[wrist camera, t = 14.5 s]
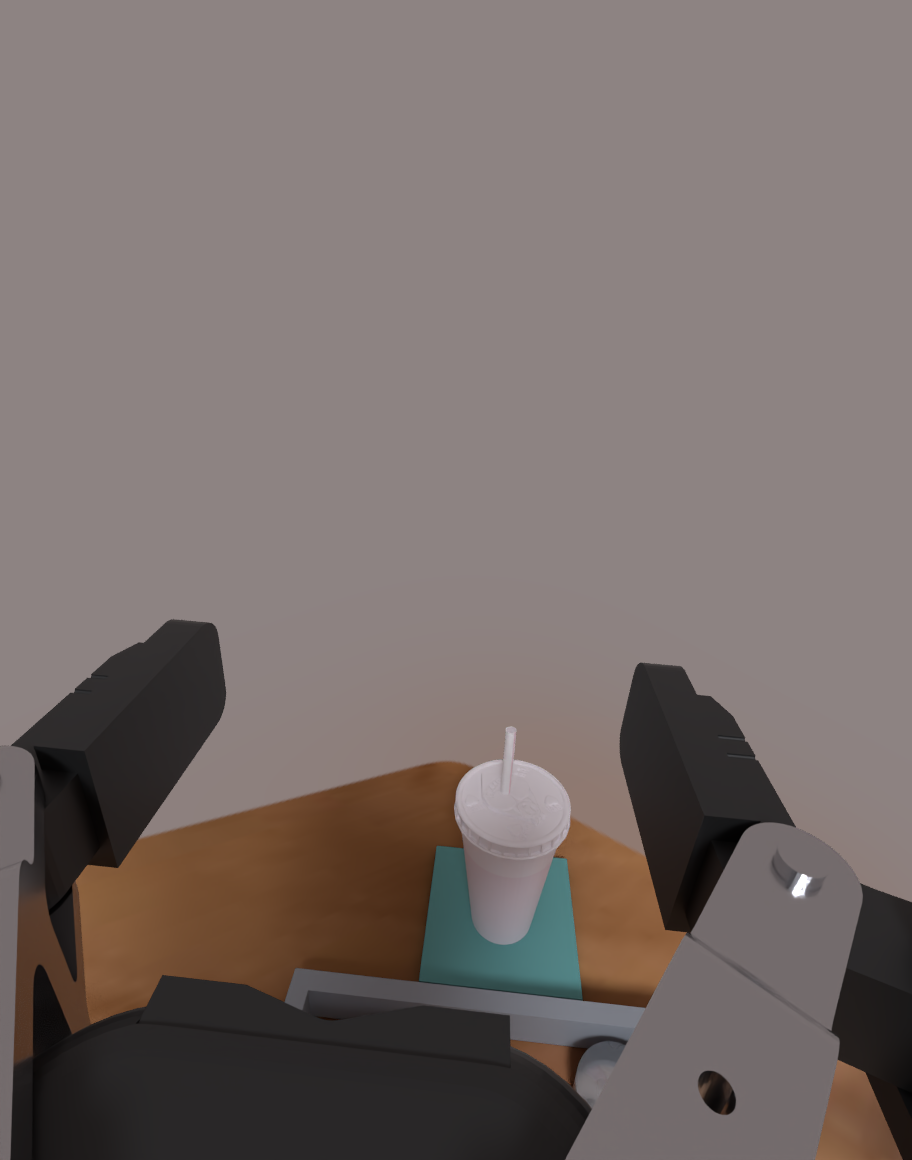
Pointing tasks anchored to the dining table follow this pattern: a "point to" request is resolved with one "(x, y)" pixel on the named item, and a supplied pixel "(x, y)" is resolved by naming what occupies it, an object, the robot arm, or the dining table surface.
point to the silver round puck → (596, 1069)
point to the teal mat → (478, 963)
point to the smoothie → (509, 840)
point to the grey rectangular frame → (465, 1006)
